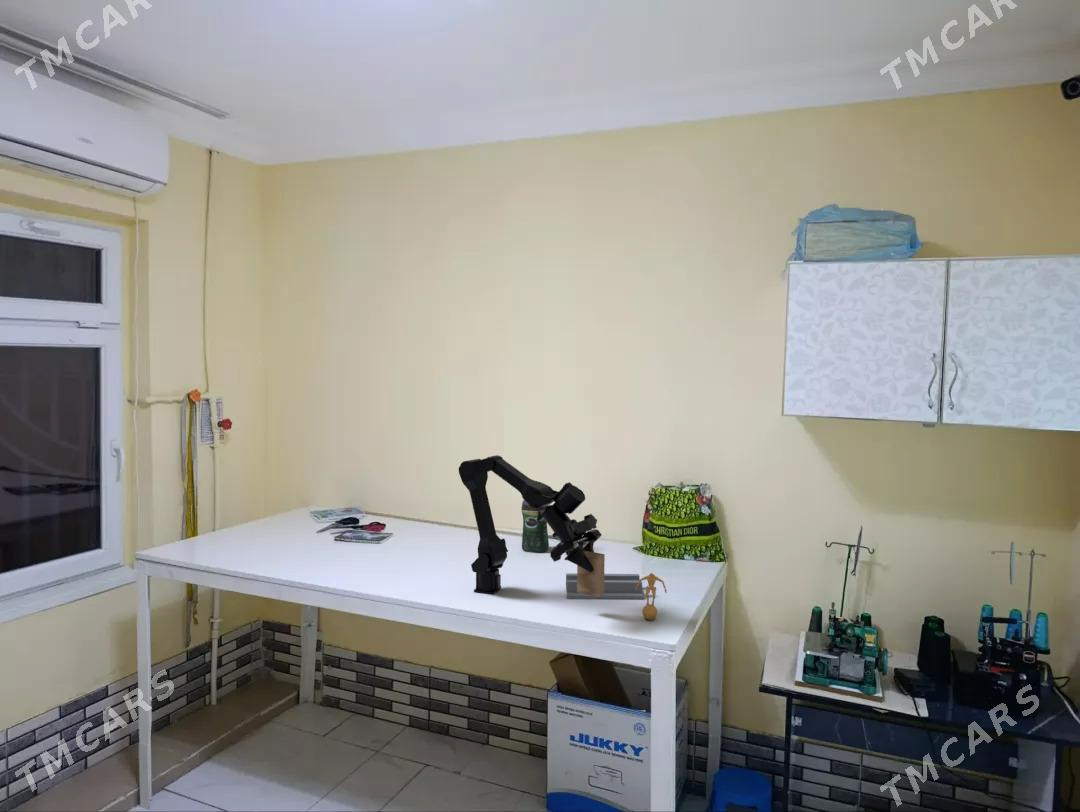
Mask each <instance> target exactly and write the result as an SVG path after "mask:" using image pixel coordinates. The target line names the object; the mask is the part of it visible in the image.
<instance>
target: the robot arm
mask: <svg viewBox="0 0 1080 812" xmlns="http://www.w3.org/2000/svg"><path fill="white" fill-rule="evenodd" d="M489 472H493V473H494V474H495V475H496V476H498V477H499V478H501V479H502V480H503V481H504V482H506V483H508V484H509V485H510V486H511V487H512V488H514V489H515V490H516V491H518V492H519V493H520V494H521V497H522V499H523V501H524V500H525V501H526V502H527V503H528V504H529V506H531V507H532V508H535V509H536V508H540V507H543V506H547V505H548V506H547V507H546V508H545V509H544V510H542V511H538V517H537V521H538V522H539V521H542V520H545V521H546V522H547V526H549V527H550V529H551V530H552V531H553V532H552V534H551V535H552V537H553V538H554V539H555V538H558V539H559V542H558V543H557V544H556V546H554V547H553V548H552V549H551V551H550V554H549V557H550V558H551V560H552V561H553V562H554V563H555V562H558V561H560V560H561V559H562V556H563V555H564V554H565V555H566V557H565V558H564V560H565V561H568V562H570V563H573V564H574V565H578V566H580V567H582V568H584V569H586V570H587V571H589V572H592V571H594V569H593V567H592V565H591V564H590V562H589V560H588V559H587V557H586V556H585V554H584V552H583V550H584V551H590V552H595V551H594V545H595V544H594V543H596V542H597V541H598V540H599V539H600V538H601V537H602V532H600V530H599V529H597V522H598V519H597V518H596V517H595V516H594V515H593V514H592V513H590V514H588V515H584V517H583V519H582V520H580V521H577V520H576V519H574V518H573V519H571V518H570V517H569V516H568V515H570V514H573V513H574V511H576V510H577V508H579V507H580V505H581V504H583V503H584V501H585V500H586V495H585V493H584V491H583V490H582V489H580V488H579V487H578V486H576V485H573V484H572V482H566V483H565V484H564V485H563V486H562V488H561V489H560V490H559V491H557V490H554V489H553V487H552V486H550V485H547V484H545V483H544V482H541V481H537V480H534V479H531V478H529V477H528V476H527V475H525V474H524V473H523V472H521V471H520V470H519V469H517V468H516V467H514V466H513V465H512V464H510V463H509V462H508V461H506V460H505V459H504V458H503V457H502V456H501V455H499V454H497V455H490V456H488V457H484V458H482V459H480V458H475V459H468V460H463V461H461V463H460V465H459V467H458V473H459V477H460V480H461V483H462V485H463V486H464V487H465V488H466V489H467V490H468V491H469V495H470V499H471V500H470V501H471V503H472V508H473V513H474V517H475V522H476V525H477V530H478V534H479V535H478V536H479V540H478V546H477V557H476V559H475V560H474V561H473V562H471V564H470V567H471V570H472V572H473V573H475V588H474V589H473V592H474V593H482V594H483V593H484V594H490V595H492V594H493V595H494V594H496V593H497V592H498V591H499V590H501V589H502V585H501V581H502V580H501V577H502V575H501V574H500V569H502V568H503V566H504V563H505V562H506V559H507V558H508V552H509V550H508V548H507V543H506V539H505V538H500V536H499V535H497V531H496V527H495V523H494V519H493V514H492V510H491V505H490V501H489V498H488V493H487V489H486V487H487V481H488V478H489V475H488V473H489ZM552 503H553V504H552Z"/></svg>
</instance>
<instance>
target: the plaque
mask: <svg viewBox="0 0 1080 812" xmlns="http://www.w3.org/2000/svg"><path fill="white" fill-rule="evenodd" d="M583 552H584V554H585V556H586V557H587V559H588V560H589V562H590V564H591V565H592V567H593V569H594V571H592V572H589V571H587V570H586V569H584V568H582V567H580V566H578V565H577V567H576V573H577V592H579V593H584V594H588V595H593V596H597V597H600V596H602V595H604V574H605V563H606V561H605V554H604V553H600V552H595V551H594V552H590V551H584V550H583Z"/></svg>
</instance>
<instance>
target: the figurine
mask: <svg viewBox="0 0 1080 812" xmlns="http://www.w3.org/2000/svg"><path fill="white" fill-rule="evenodd" d="M646 580H647V584H648V585H646V586H645V596H646V604H645V605H644V606H643V608H642V610H641V611H642V612H641V613H642V615H643V618H644V619H646V620H649V621H652V620H655V619H656V618H657V616H658V613H659V612H658V609H657V607H656V606H655V599H656V593H657V586H655V584H656V581H659V582H660V583H661V584H662V587H663V589H664V593H665V594H667V587H666V585H665V582H664V580H663V579H661V578H659V577H658V576H656V575H655V574H654V573H652V572H650V573H649V574H648V575H646V576H644V577H641V578H640V580H639V582H638V584H637V586H636V589H635V590H637V587H638V585H639V584H640V582H641V581H642V582H643V581H646ZM650 593H651V594H652V596H651V597H652V602H651V603H649V602H650V596H649V594H650Z"/></svg>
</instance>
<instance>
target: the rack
mask: <svg viewBox="0 0 1080 812" xmlns="http://www.w3.org/2000/svg"><path fill="white" fill-rule="evenodd" d="M640 579H641V578H640V574H639V573H604V595H602V596H600V597H597V596H593V595H588V594H584V593H579V592H577V572H576V573H574V572H573V573H571V572H570V573H565V592H566V595H565V596H566V600H567V599H575V600H576V599H577V600H578V599H583V600H586V599H587V600H592V599H593V600H644V594H643V580H642V581H641V582H640V584H639V585H638V587H637V590H635V589H636V586H637V584H638V582H639V580H640Z"/></svg>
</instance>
